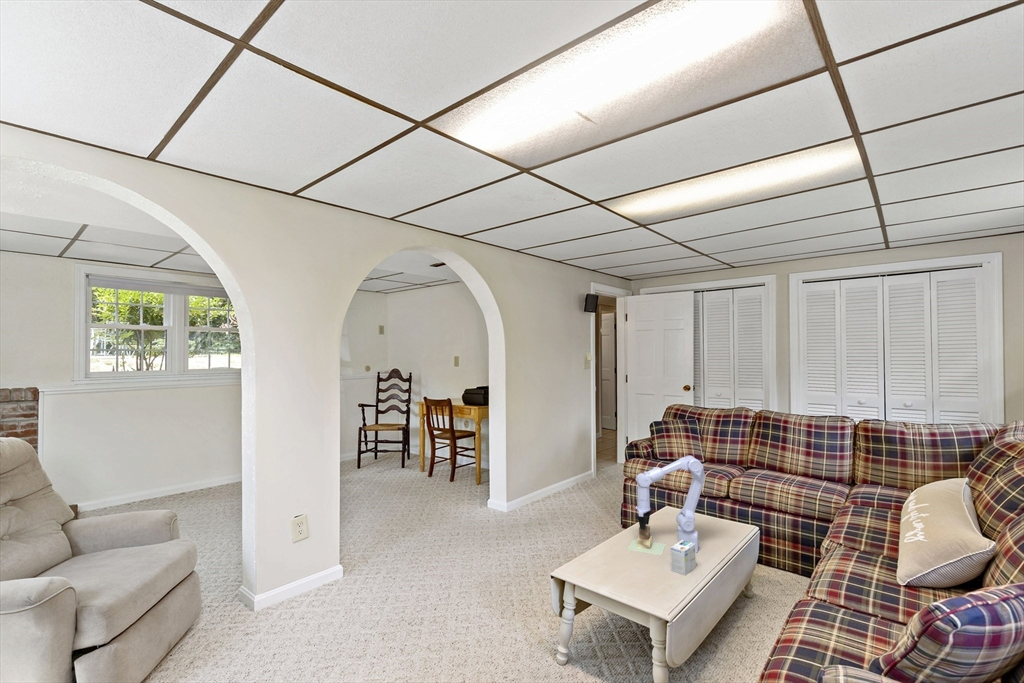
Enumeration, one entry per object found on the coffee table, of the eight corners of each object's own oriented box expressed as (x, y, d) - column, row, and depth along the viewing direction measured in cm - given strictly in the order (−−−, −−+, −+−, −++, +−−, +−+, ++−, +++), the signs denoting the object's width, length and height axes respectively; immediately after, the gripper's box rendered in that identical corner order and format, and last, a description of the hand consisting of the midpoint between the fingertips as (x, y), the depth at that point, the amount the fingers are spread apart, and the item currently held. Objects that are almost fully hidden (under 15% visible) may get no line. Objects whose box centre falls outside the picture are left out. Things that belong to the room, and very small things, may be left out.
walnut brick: (650, 536, 234) (650, 526, 234) (648, 540, 230) (648, 529, 230) (641, 535, 236) (640, 525, 236) (639, 538, 232) (638, 528, 232)
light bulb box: (681, 563, 215) (681, 539, 216) (696, 567, 210) (695, 543, 211) (670, 571, 208) (669, 546, 208) (685, 576, 203) (684, 550, 203)
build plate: (666, 546, 234) (666, 544, 234) (661, 557, 221) (661, 555, 221) (633, 541, 241) (633, 539, 241) (626, 551, 229) (626, 549, 229)
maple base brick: (652, 544, 234) (652, 536, 234) (650, 549, 228) (649, 540, 229) (640, 542, 237) (639, 534, 237) (637, 547, 231) (637, 538, 231)
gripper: (638, 493, 241) (639, 520, 241) (631, 502, 228) (632, 530, 228) (652, 495, 238) (653, 522, 238) (646, 504, 225) (647, 532, 225)
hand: (644, 526), depth 233 cm, fingers open, 7 cm apart
